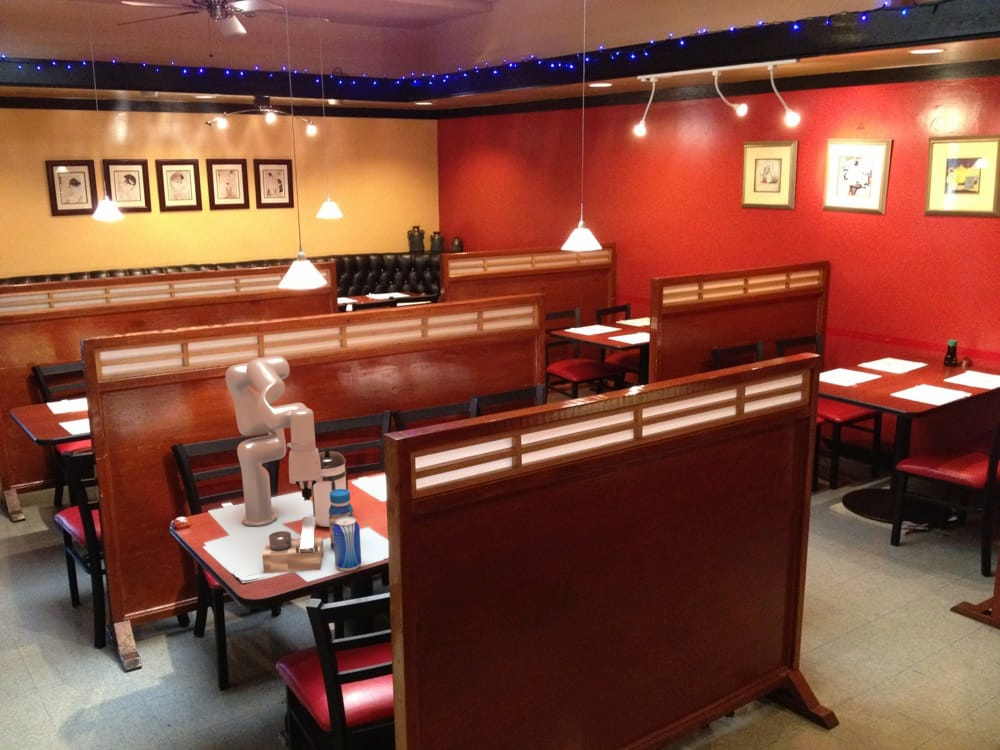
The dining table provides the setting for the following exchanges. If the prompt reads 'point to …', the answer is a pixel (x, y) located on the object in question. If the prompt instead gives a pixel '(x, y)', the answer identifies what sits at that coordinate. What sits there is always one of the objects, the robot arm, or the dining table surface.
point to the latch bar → (307, 534)
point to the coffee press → (328, 484)
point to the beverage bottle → (339, 508)
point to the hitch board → (293, 557)
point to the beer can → (347, 544)
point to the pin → (280, 541)
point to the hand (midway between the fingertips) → (307, 498)
